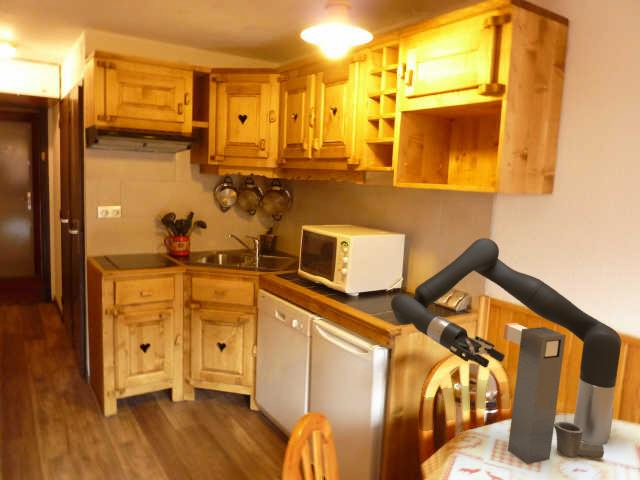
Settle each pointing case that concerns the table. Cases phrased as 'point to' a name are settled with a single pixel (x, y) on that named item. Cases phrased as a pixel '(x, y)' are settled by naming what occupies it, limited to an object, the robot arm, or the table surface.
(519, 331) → the block
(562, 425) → the pipe
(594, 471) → the table surface
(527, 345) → the grey tall rectangular block
